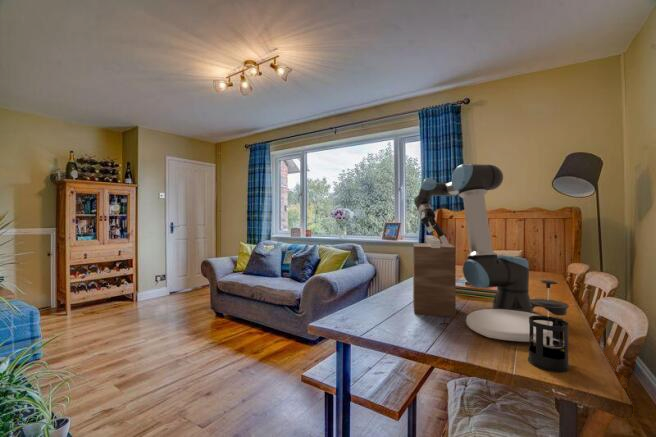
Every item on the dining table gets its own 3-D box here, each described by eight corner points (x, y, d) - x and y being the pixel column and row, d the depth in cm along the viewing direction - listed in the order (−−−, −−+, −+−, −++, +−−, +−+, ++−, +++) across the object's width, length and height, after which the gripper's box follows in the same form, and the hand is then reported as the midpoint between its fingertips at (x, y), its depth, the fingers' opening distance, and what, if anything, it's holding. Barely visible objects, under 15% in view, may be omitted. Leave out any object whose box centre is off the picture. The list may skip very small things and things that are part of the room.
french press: (557, 376, 79) (557, 286, 79) (519, 361, 87) (519, 279, 87) (579, 365, 85) (579, 281, 85) (541, 352, 93) (542, 275, 93)
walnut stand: (413, 303, 145) (413, 243, 145) (449, 305, 141) (449, 243, 141) (414, 313, 129) (414, 246, 129) (455, 316, 126) (455, 247, 125)
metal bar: (425, 241, 155) (425, 235, 155) (432, 241, 154) (432, 235, 154) (431, 247, 124) (431, 240, 124) (440, 248, 123) (440, 240, 123)
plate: (481, 331, 98) (455, 306, 124) (483, 351, 98) (457, 323, 124) (576, 324, 95) (529, 301, 122) (579, 345, 95) (531, 317, 122)
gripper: (433, 228, 184) (446, 253, 167) (408, 205, 173) (418, 229, 156) (444, 221, 181) (458, 245, 164) (419, 196, 170) (430, 220, 153)
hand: (438, 238), depth 160 cm, fingers open, 13 cm apart
